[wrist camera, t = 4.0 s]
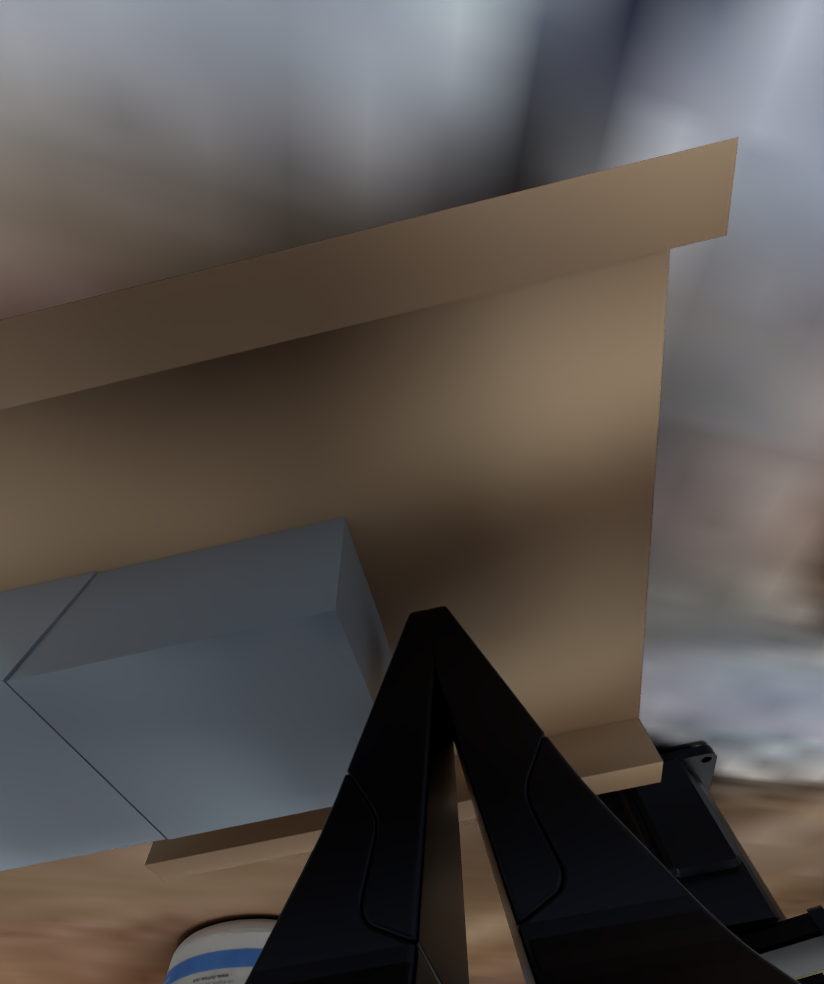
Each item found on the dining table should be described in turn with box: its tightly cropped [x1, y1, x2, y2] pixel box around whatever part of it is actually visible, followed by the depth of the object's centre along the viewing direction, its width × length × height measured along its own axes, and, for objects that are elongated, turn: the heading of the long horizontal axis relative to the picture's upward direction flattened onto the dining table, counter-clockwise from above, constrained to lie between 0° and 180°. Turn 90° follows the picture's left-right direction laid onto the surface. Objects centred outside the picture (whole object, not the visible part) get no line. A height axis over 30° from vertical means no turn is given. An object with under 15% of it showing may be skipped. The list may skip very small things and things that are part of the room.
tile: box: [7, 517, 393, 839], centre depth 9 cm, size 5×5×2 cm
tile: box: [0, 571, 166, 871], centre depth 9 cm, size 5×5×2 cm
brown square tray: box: [0, 137, 738, 881], centre depth 11 cm, size 14×14×6 cm
